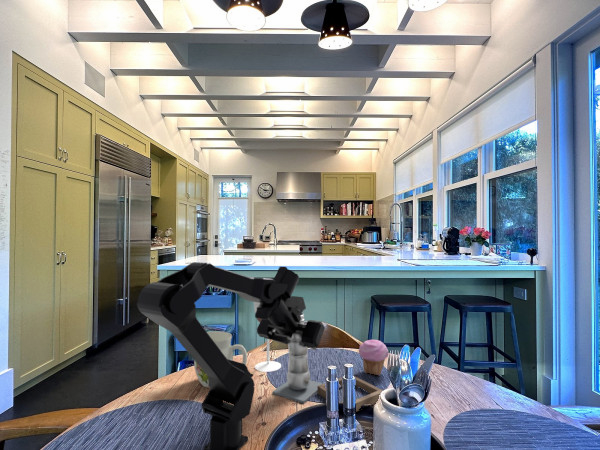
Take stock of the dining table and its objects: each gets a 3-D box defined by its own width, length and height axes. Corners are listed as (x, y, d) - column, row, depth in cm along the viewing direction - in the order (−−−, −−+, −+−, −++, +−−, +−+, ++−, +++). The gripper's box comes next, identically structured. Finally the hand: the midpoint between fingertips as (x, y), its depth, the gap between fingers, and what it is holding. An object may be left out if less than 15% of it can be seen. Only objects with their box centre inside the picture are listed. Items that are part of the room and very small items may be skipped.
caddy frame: (349, 414, 73) (349, 405, 74) (317, 393, 84) (317, 385, 84) (384, 399, 80) (384, 391, 81) (351, 381, 91) (351, 374, 91)
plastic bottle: (285, 393, 83) (284, 316, 84) (288, 382, 89) (287, 311, 91) (309, 393, 82) (308, 316, 83) (310, 382, 89) (309, 311, 90)
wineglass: (248, 370, 99) (248, 297, 100) (261, 359, 108) (261, 292, 110) (275, 374, 96) (275, 298, 97) (286, 361, 106) (285, 293, 107)
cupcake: (355, 375, 95) (354, 342, 95) (364, 365, 102) (363, 334, 103) (384, 381, 90) (384, 346, 91) (391, 370, 98) (391, 338, 98)
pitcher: (241, 393, 84) (241, 341, 85) (178, 389, 87) (178, 339, 87) (252, 375, 95) (252, 330, 96) (196, 373, 98) (196, 328, 98)
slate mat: (304, 403, 79) (304, 401, 79) (272, 393, 84) (272, 391, 84) (324, 386, 88) (324, 384, 88) (294, 378, 93) (294, 376, 93)
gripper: (320, 290, 79) (339, 324, 88) (263, 285, 89) (285, 316, 98) (305, 329, 72) (327, 362, 81) (244, 319, 82) (270, 349, 91)
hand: (301, 345), depth 88 cm, fingers open, 9 cm apart
